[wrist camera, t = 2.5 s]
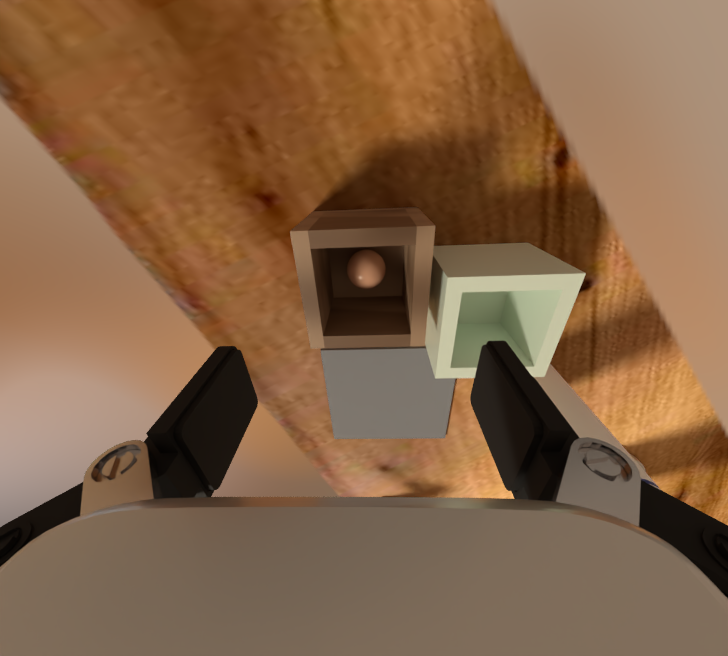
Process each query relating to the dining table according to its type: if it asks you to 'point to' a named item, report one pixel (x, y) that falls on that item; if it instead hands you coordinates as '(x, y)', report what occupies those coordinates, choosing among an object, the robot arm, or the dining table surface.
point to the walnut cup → (355, 305)
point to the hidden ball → (366, 269)
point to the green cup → (497, 305)
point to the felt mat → (385, 393)
